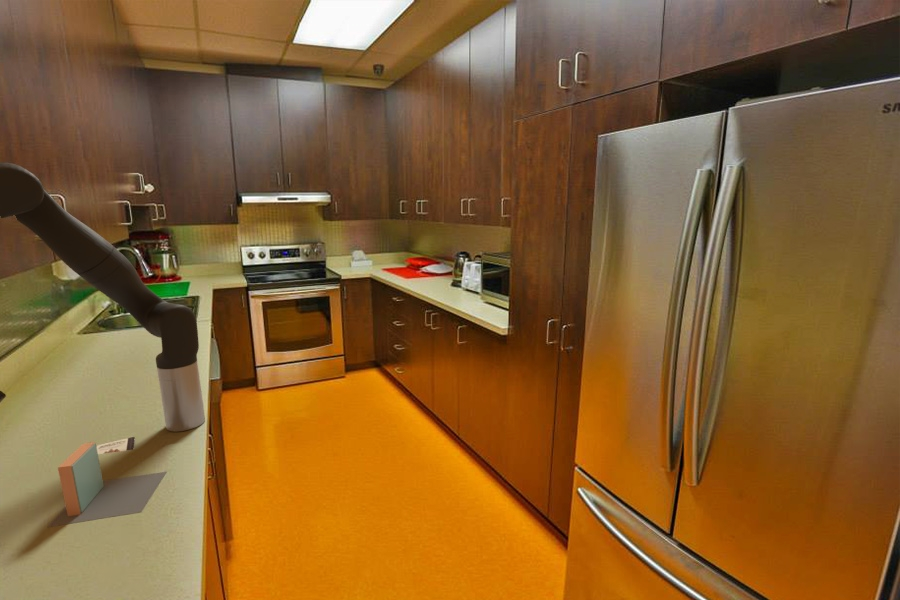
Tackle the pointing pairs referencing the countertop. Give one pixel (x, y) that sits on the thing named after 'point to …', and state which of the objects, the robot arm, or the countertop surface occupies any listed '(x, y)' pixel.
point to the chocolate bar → (116, 446)
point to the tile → (81, 478)
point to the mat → (116, 499)
